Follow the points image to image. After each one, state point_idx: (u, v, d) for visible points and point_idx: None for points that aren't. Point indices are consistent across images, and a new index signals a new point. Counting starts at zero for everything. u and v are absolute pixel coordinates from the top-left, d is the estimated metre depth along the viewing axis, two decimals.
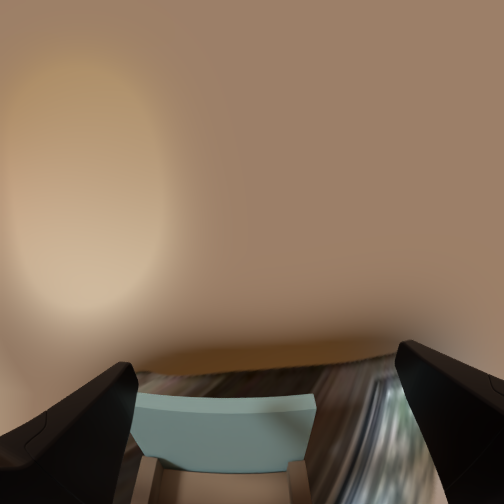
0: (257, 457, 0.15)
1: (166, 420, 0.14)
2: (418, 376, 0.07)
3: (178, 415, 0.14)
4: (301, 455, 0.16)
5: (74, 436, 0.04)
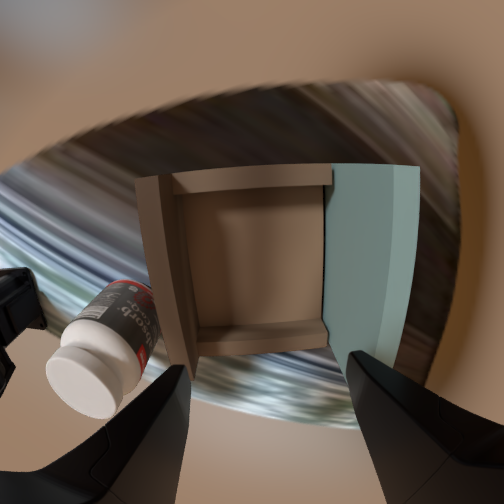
0: (336, 308, 0.16)
1: (377, 243, 0.10)
2: (363, 390, 0.07)
3: (383, 271, 0.10)
4: (332, 346, 0.18)
5: (141, 452, 0.04)
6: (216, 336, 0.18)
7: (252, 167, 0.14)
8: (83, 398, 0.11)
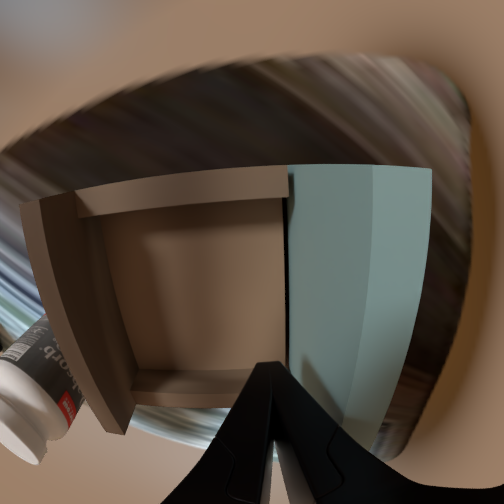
0: (299, 365, 0.12)
1: (341, 314, 0.06)
2: None
3: (347, 366, 0.05)
4: None
5: None
6: (153, 384, 0.14)
7: (169, 176, 0.10)
8: (9, 443, 0.07)
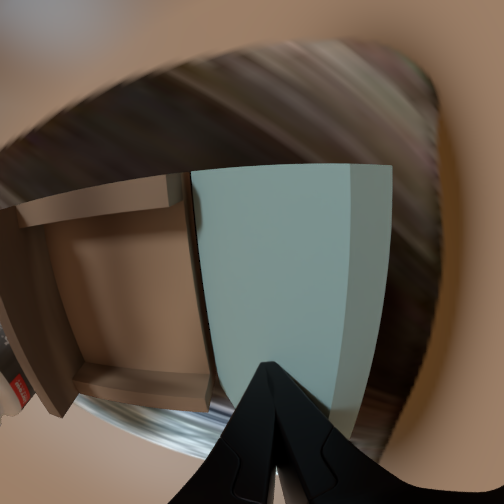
0: (237, 375, 0.12)
1: (306, 316, 0.06)
2: None
3: (323, 364, 0.06)
4: None
5: None
6: (91, 376, 0.14)
7: (73, 192, 0.10)
8: None
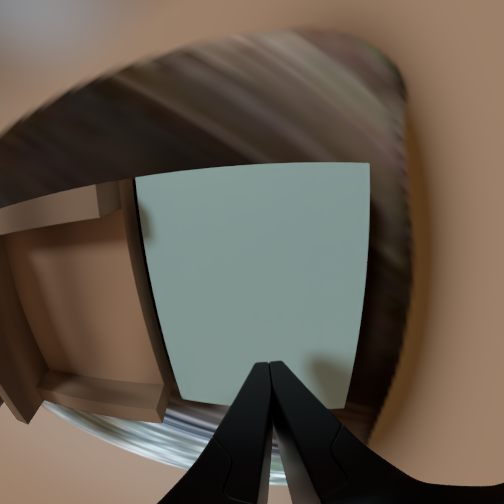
0: (229, 361, 0.12)
1: (338, 249, 0.10)
2: (273, 404, 0.07)
3: (355, 271, 0.10)
4: (231, 403, 0.13)
5: None
6: (53, 384, 0.12)
7: (19, 204, 0.08)
8: None
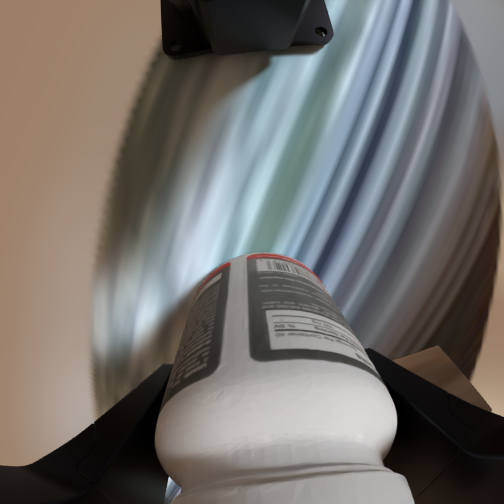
0: None
1: None
2: None
3: None
4: None
5: (128, 449, 0.04)
6: None
7: None
8: None
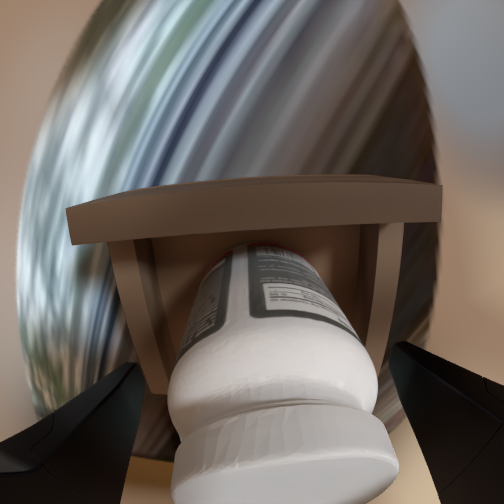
0: None
1: None
2: (411, 378, 0.07)
3: None
4: None
5: (82, 438, 0.04)
6: (142, 252, 0.11)
7: (392, 306, 0.11)
8: None
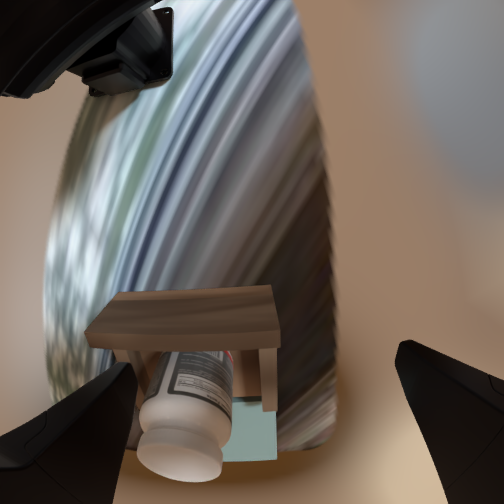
0: None
1: (246, 454, 0.23)
2: (418, 376, 0.07)
3: (238, 458, 0.23)
4: None
5: (74, 436, 0.04)
6: None
7: (275, 374, 0.19)
8: (169, 465, 0.11)
